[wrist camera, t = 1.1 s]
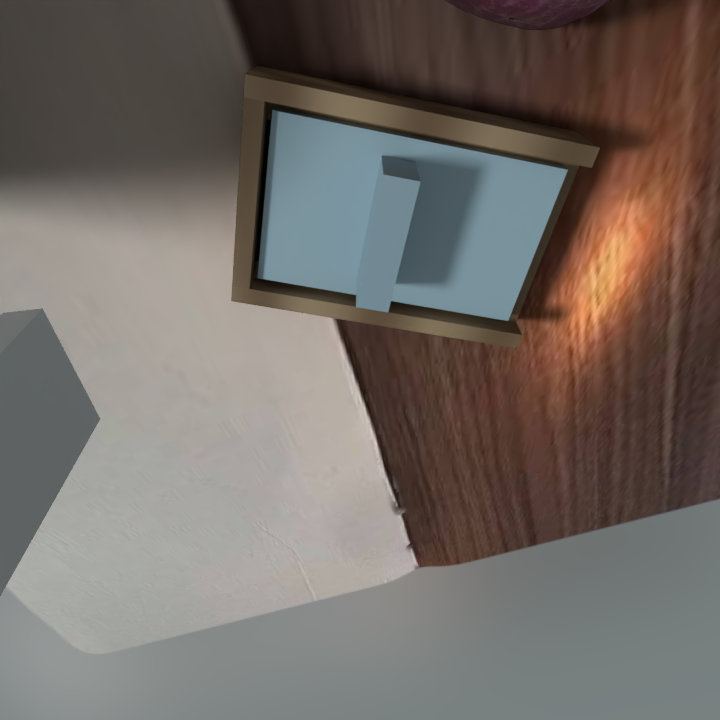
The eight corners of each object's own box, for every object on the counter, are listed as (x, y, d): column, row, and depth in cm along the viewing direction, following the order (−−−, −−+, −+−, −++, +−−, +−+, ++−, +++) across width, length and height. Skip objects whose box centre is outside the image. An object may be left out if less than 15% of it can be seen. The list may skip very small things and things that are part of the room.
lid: (260, 271, 29) (246, 307, 26) (274, 107, 25) (260, 124, 21) (504, 314, 31) (521, 352, 27) (562, 165, 26) (591, 190, 23)
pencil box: (243, 273, 32) (231, 300, 29) (258, 65, 26) (244, 74, 23) (503, 318, 33) (516, 348, 30) (575, 131, 27) (600, 147, 24)
